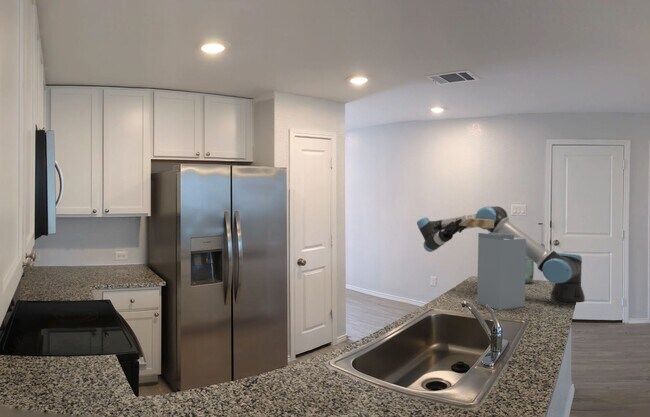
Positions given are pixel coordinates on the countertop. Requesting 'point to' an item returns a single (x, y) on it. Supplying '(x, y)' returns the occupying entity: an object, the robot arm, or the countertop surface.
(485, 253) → the stand
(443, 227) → the robot arm
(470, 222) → the oak block
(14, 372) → the countertop surface
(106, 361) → the countertop surface
